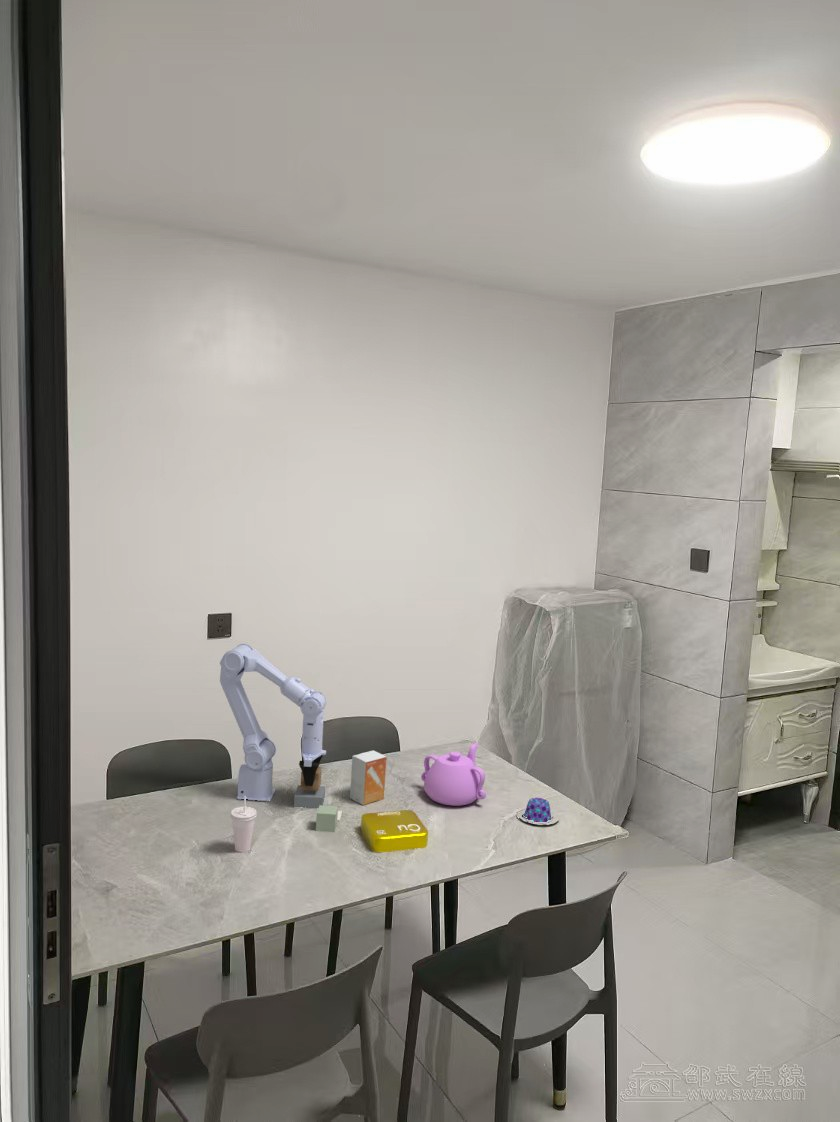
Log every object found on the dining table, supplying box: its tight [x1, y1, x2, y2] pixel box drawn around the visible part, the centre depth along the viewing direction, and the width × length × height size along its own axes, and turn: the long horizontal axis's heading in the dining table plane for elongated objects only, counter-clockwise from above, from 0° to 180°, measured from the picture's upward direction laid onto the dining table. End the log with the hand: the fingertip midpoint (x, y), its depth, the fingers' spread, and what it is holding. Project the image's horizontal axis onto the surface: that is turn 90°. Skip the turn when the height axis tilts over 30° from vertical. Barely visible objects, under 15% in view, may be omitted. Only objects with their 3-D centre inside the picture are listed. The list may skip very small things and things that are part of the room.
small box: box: [349, 749, 388, 806], centre depth 243 cm, size 8×6×13 cm
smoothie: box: [230, 796, 258, 853], centre depth 209 cm, size 6×6×14 cm
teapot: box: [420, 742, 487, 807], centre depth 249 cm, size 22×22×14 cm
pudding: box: [516, 797, 552, 822], centre depth 237 cm, size 12×12×5 cm
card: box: [337, 810, 343, 822], centre depth 231 cm, size 6×6×1 cm
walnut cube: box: [300, 766, 322, 791], centre depth 238 cm, size 5×5×5 cm
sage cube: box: [315, 804, 339, 833], centre depth 224 cm, size 5×5×5 cm
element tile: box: [360, 809, 429, 854], centre depth 220 cm, size 15×15×5 cm
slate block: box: [293, 784, 326, 809], centre depth 239 cm, size 8×8×4 cm
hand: (310, 781), depth 238 cm, fingers closed on walnut cube, 5 cm apart
